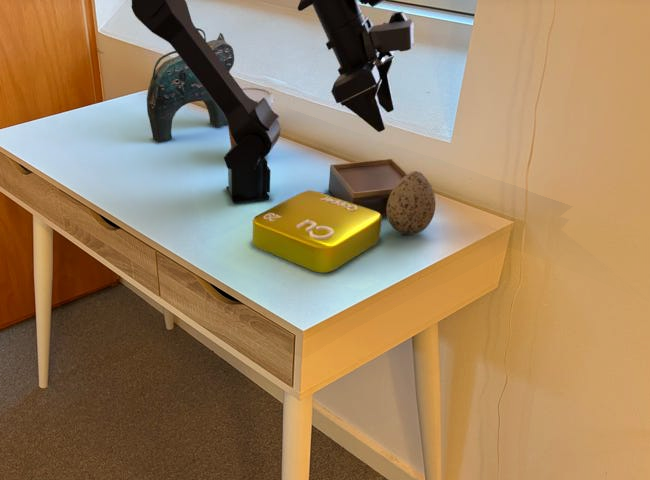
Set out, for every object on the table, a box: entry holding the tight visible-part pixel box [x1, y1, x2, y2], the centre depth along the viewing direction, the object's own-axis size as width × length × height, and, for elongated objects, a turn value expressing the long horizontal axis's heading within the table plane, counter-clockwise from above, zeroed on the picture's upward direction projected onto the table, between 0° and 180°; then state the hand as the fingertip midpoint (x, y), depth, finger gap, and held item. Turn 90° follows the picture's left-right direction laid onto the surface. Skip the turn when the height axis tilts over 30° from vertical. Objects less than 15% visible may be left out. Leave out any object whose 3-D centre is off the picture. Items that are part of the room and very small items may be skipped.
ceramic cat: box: [146, 27, 235, 143], centre depth 147 cm, size 20×6×20 cm, turn 122°
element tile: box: [252, 189, 383, 274], centre depth 110 cm, size 15×15×5 cm
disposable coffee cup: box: [227, 86, 275, 149], centre depth 136 cm, size 10×10×12 cm
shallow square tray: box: [328, 157, 408, 218], centre depth 120 cm, size 11×12×5 cm
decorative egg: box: [386, 170, 436, 236], centre depth 109 cm, size 7×7×10 cm
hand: (386, 120), depth 111 cm, fingers open, 9 cm apart
